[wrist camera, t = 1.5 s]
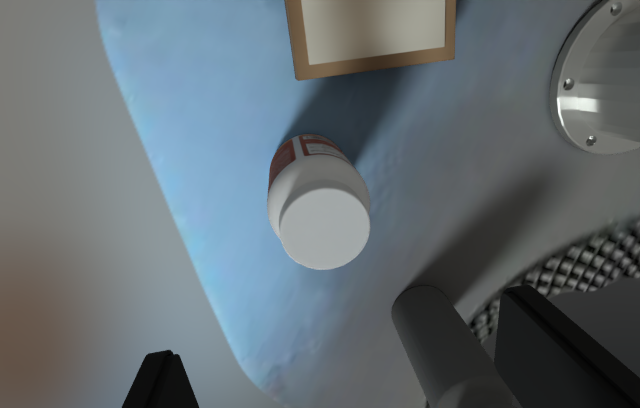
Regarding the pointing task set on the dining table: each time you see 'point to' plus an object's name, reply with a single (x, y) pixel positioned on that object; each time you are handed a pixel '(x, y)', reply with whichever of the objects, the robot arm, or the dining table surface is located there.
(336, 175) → the pill bottle
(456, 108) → the dining table surface
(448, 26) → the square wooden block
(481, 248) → the dining table surface
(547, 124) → the dining table surface
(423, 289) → the bottle
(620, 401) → the robot arm
